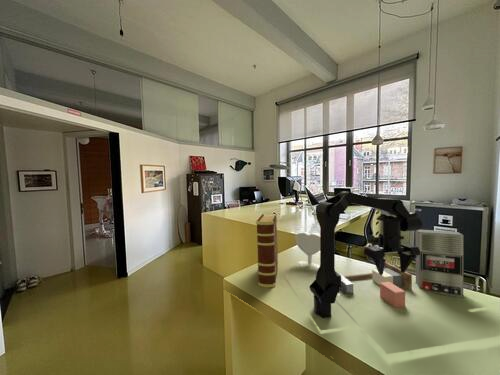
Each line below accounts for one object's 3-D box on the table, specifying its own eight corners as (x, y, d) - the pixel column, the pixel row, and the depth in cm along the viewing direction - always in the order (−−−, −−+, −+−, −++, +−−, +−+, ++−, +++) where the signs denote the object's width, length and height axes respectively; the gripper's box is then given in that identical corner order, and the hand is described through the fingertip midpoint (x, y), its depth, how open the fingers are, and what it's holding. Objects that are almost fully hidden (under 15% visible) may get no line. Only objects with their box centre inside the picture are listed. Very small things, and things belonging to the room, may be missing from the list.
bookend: (353, 294, 82) (353, 283, 82) (337, 296, 81) (337, 285, 81) (340, 283, 91) (340, 273, 91) (325, 285, 90) (325, 275, 90)
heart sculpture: (295, 263, 118) (294, 232, 117) (298, 260, 122) (297, 230, 121) (322, 269, 108) (322, 235, 108) (325, 265, 113) (324, 233, 112)
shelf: (413, 292, 84) (413, 274, 84) (339, 301, 79) (339, 282, 79) (388, 278, 97) (388, 261, 97) (323, 285, 92) (322, 268, 92)
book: (402, 287, 87) (402, 275, 86) (393, 288, 86) (393, 275, 86) (388, 279, 94) (388, 268, 93) (380, 280, 93) (380, 268, 93)
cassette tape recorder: (419, 292, 84) (419, 232, 83) (415, 285, 90) (414, 229, 89) (465, 300, 78) (465, 235, 77) (457, 292, 84) (457, 231, 83)
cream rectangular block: (393, 288, 86) (393, 276, 86) (384, 289, 85) (384, 276, 85) (380, 280, 93) (380, 268, 93) (372, 281, 92) (372, 269, 92)
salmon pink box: (405, 306, 73) (405, 291, 73) (395, 307, 73) (395, 292, 72) (389, 295, 80) (389, 281, 80) (380, 296, 80) (380, 282, 79)
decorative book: (275, 288, 91) (273, 221, 90) (257, 287, 92) (255, 221, 91) (278, 267, 113) (276, 213, 112) (263, 266, 114) (262, 213, 113)
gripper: (395, 225, 85) (395, 262, 85) (354, 228, 82) (354, 266, 83) (421, 232, 74) (421, 274, 74) (374, 236, 71) (375, 280, 72)
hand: (391, 273), depth 76 cm, fingers open, 9 cm apart
